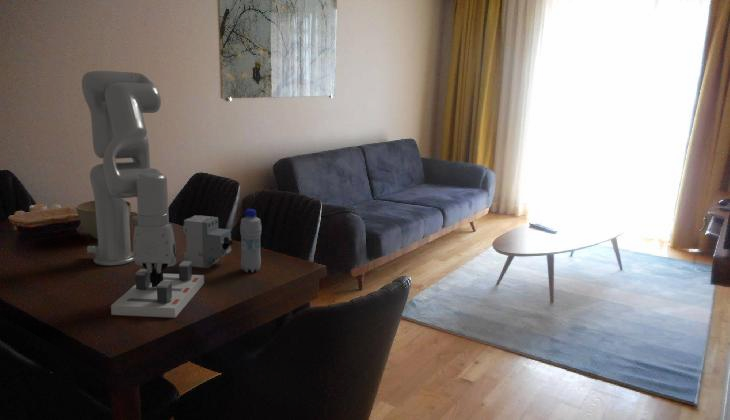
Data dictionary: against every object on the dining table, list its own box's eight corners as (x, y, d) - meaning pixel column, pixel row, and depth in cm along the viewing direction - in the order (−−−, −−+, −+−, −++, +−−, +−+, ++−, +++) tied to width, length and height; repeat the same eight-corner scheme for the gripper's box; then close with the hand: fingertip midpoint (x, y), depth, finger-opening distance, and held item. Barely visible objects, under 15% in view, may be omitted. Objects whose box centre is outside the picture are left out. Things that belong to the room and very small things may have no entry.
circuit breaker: (225, 270, 169) (225, 224, 165) (184, 265, 171) (183, 220, 168) (236, 263, 176) (235, 219, 172) (196, 258, 178) (195, 215, 175)
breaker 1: (157, 302, 135) (156, 285, 134) (162, 296, 138) (162, 280, 137) (166, 302, 135) (166, 286, 134) (172, 297, 138) (171, 281, 137)
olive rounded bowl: (68, 237, 195) (65, 205, 192) (113, 227, 210) (111, 197, 207) (97, 246, 186) (95, 213, 183) (143, 236, 201) (141, 204, 198)
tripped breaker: (136, 289, 143) (135, 273, 142) (141, 284, 146) (140, 268, 145) (145, 289, 143) (144, 273, 142) (150, 284, 146) (149, 269, 145)
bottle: (238, 267, 171) (237, 207, 167) (259, 265, 174) (259, 206, 169) (242, 274, 165) (241, 212, 161) (263, 272, 168) (263, 211, 163)
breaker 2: (179, 280, 151) (178, 265, 150) (183, 275, 154) (183, 260, 153) (187, 280, 151) (187, 265, 150) (191, 276, 154) (191, 261, 153)
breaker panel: (111, 314, 133) (110, 305, 133) (149, 280, 157) (149, 272, 156) (175, 317, 134) (174, 308, 133) (204, 283, 157) (203, 275, 156)
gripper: (118, 222, 137) (123, 289, 141) (177, 224, 137) (180, 291, 141) (131, 215, 144) (135, 280, 148) (186, 217, 144) (189, 281, 148)
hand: (157, 285), depth 144 cm, fingers closed
